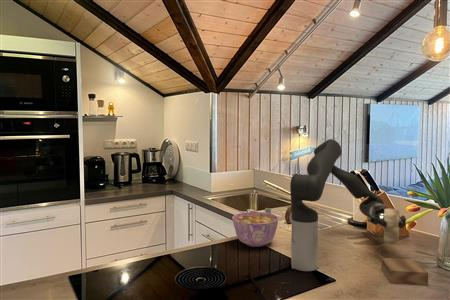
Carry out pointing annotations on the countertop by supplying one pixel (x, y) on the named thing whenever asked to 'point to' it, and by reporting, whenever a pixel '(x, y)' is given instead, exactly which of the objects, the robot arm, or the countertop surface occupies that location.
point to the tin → (288, 215)
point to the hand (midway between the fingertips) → (393, 225)
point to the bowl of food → (255, 227)
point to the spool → (391, 226)
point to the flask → (268, 210)
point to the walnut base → (404, 271)
